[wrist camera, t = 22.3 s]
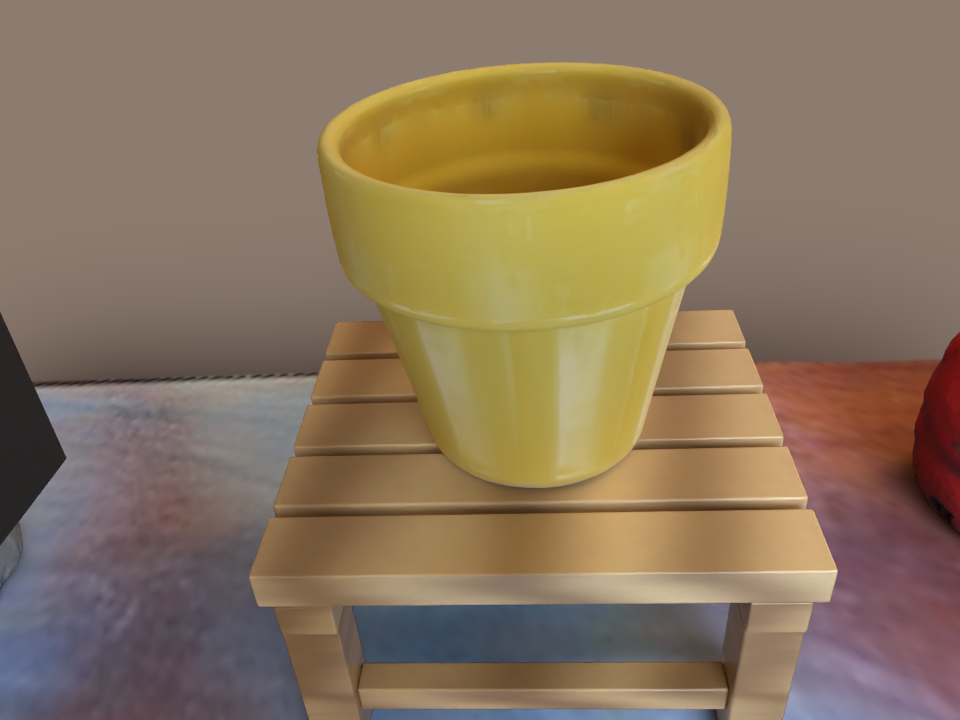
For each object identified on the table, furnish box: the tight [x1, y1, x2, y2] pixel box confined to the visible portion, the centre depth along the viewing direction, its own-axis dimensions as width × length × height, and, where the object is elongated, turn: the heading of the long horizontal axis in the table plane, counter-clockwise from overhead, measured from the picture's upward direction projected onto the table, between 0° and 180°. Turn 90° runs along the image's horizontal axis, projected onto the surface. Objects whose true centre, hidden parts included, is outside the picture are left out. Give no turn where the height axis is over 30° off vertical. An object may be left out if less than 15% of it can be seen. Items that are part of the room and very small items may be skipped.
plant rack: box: [249, 310, 838, 720], centre depth 29 cm, size 15×13×8 cm
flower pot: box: [317, 62, 732, 488], centre depth 24 cm, size 10×10×10 cm
